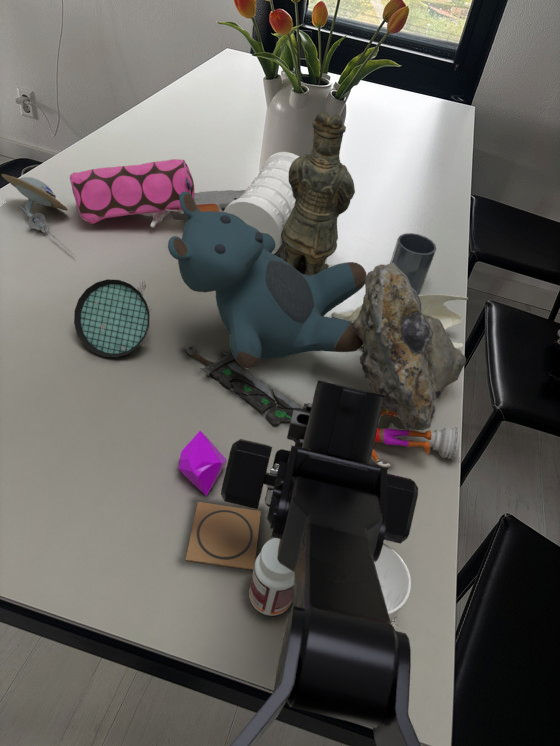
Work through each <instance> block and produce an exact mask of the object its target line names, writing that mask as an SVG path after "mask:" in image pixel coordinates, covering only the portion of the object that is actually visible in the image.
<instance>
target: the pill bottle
mask: <svg viewBox="0 0 560 746" xmlns="http://www.w3.org/2000/svg"><path fill="white" fill-rule="evenodd" d="M279 542H280V539H278V538H274V537H272V538H270V539H268V540H267V541H266V542H265V543H264V544H263V545H262V548H261V551H260V552H259V554H258V555H257V556H256V559H255V565H254V570H252V575H251V579H250V585H249V589H248V597H249V601H250V603H251V605H252V607H253V608H254V609H255V610H256V611H257V612H259V613H260V614H263V615H265V616H271V617H272V616H278V615H281V614H283V613H284V612H286V611H287V610H288V609H289V608H290V606H291V604H292V603H293V591H294V576H295V573H294V572H293V571H291V570H290V569H288V568H287V567H285V566H283V565H282V564H280V563H279V561H278V559H277V556H278V547H279Z"/></svg>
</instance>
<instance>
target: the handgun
mask: <svg viewBox="0 0 560 746" xmlns="http://www.w3.org/2000/svg"><path fill="white" fill-rule="evenodd" d="M245 191H246V189H239V190H235V189H234V190H233V189H229V190H207V191H206V190H205V191H199V192H194V201H195V204H196V206H197V208H198V209H199V210H200V211H201V212H206V211H214V212H224V210H225V208H226V207H227V206H228V205H229V204H230V203H231V202H232V201H234V200H236V199H239V198H240V197H241V196H242V195H243V194H244V192H245ZM170 215H171V217H172V219H173V220H174V221H180V222H181V221H184V222H186V221H187V219H188V216H187V215H186V214H185V213H184V214H181V213H179V212H173V211H170Z"/></svg>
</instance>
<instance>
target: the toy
mask: <svg viewBox="0 0 560 746" xmlns="http://www.w3.org/2000/svg"><path fill="white" fill-rule="evenodd" d="M0 175H1V177H2V178H3V179H4V180H5V181H7V182H8V183H9V184H10V185H11V186H13V187H14V188H15V189H16V190H17V191H18V193H20V194H21V195H22V196H24V197H25V198H27V201H26V202H25V207H23V206H22V205H21V206H20V209H21V210H22V212H23V213H24V214H25V215H26V216H27V217H28V218H29V219H28V226H29V227H30V229H33V230H37V231H41V232H42V233H49V234H50V235H51V237H53V239H55V240H56V241H57V242H58V243H59V244H60V245H61V246H62V247H63V248H65V249H66V250H67V251H68V252H69V253H71V255H73V256H74V257H75V258H77V257H76V255H75V254H74V253H73V252H72V250H70V249H69V248H68V247H67V246H66V245H65V244H64V243H63V242H61V241H60V240H59V239H58V238H57V237H56V236H55V235H54V234H52V233H51V232H50V231H49V230H50V226H49V224H48V223H47V220H46V216H45V215H44V214H43V213H41V212H36V213H32V212H31V208H33V206H34V204H35V203H36V204H37V205H41V206H45V207H50V208H54V209H59V210H62V211H66V212H67V211H69V209H68V208H67V207H66V206H65V205H64V204H63V203H61V202H60V201H59V200H58V199H57V195H56V194H54V192H53V190H52V188H51V187H49V185H48V184H46V183H45V182H44V181H42V180H40V179H38V178H34V177H31V176H24V177H23V176H22V177H20V178H18V177H16V176H11V175H9V174H5V173H1V174H0Z"/></svg>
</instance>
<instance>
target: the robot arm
mask: <svg viewBox="0 0 560 746" xmlns="http://www.w3.org/2000/svg"><path fill="white" fill-rule="evenodd" d="M313 394H314V395H313V399H312V403H310V402H308V403H304V404H303V407H302V408H294V409H292V410H293V413H292V418H291V422H289V427H288V431H287V435H286V439H287V440H288V441H293V442H294V445H291V446H290V450H289V449H288V450H287V449H283V448H281V449H278V450H276V452H275V455H274V458H273V464H272V467H271V468H270V471H269V472H267V471H268V467H269V462H270V458H271V454H272V452H273V451H272V450H273V446H271V445H269V444H268V445H267V444H264V443H260V442H256V441H253V440H252V441H251V440H247V439H243V438H239V439H238V440H236V441H235V442H233V443H232V444H231V448H230V450H229V456H228V459H227V463H226V467H225V472H224V476H223V481H222V484H221V490H220V496H221V498H222V500H223V501H224V502H225V503H230V504H233V505H238V506H242V507H245V508H246V507H247V508H249V509H253V510H259V508H260V507H259V506H260V502H261V498H262V493H263V489H264V485H266V489H267V490H266V493H265V498H264V503H265V505H266V506H267V507H268V511H267V516H266V520H267V522H268V523H269V526H270V527H269V528H270V530H271V529H272V531H271V535H270V537H271V538H278V539H280V542H279V547H278V556H277V559H278V561H279V563H280V564H282V565H283V566H285V567H287V568H288V569H290V570H291V571H293V572H294V573H295V576H294V591H293V599H292V606H291V608H290V612H289V614H288V617H287V622H286V624H285V625H286V626H285V629H284V634H283V639H282V642H281V648H280V652H279V658H278V663H277V668H276V672H275V673H276V674H275V679H274V684H273V690H272V694H270V696H269V697H268V698H267V699H266V701H265V702H264V703H263V705H262V706H261V707H260V708H259V709H258V710H257V712H256V713H255V714H254V716H253V717H252V718H251V719H250V721H248V723H247V724H246V725H245V726H244V728H243V729H242V730H241V731H240V732H239V734H238V735H236V736H237V737H236V738H234V740H233V741H232V742H231V744H230V745H229V746H256V744H257V743H258V742H259V741H260V740H261V738H262V737H263V735H264V734H265V733H266V732H267V730H268V729H269V728H270V727H271V725H272V724H273V723H274V721H275V720H276V719H277V718H278V717H279V715H280V713H281V712H282V709H283V708H284V706H285V705H286V703H287V704H288V706H289V707H290V708H293V709H298V710H300V711H305V712H309V713H312V714H317V715H322V716H325V717H329V718H333V719H337V720H340V721H346V722H349V723H353V724H357V725H362V726H366V727H369V728H372V732H373V738H374V742H375V745H376V746H422V745H421V743H420V740H419V738H418V736H417V733H416V730H415V729H414V725H413V723H412V721H411V718H410V714H409V704H410V688H411V687H410V686H411V668H412V667H411V665H412V664H411V663H412V662H411V660H412V657H411V655H412V654H411V653H412V652H411V649H412V648H411V643H410V638H409V636H408V635H407V633H405V632H402V631H397V630H396V629H395V627H394V626H393V624H392V621H390V618H389V614H388V610H387V607H386V603H385V600H384V596H383V592H382V589H381V585H380V582H379V578H378V574H377V571H376V567H375V564H374V562H376V561H377V560H378V558H379V556H380V553H381V550H382V546H383V543H384V542H385V541H388V542H392V543H397V544H402V543H403V542H405V541H406V540H407V539H408V538H409V535H410V533H411V529H412V524H413V519H414V516H415V510H416V506H417V501H418V496H419V487H418V485H417V483H416V482H415V480H413V479H412V478H408V477H404V476H400V475H396V474H393V473H392V474H391V473H389V472H388V467H381V466H379V465H378V464H372V463H371V459H372V457H371V455H372V451H373V449H374V447H375V443H376V442H375V438H376V433H377V429H378V428H379V424H380V420H381V417H382V416H381V411H382V410H383V407H384V405H383V403H384V398H385V396H384V395H380V394H376V393H373V392H372V391H367V390H363V389H358V388H353V387H350V386H345V385H341V384H337V383H333V382H329V381H323V380H318V379H317V381H316V384H315V390H314V393H313ZM380 416H381V417H380Z"/></svg>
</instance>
